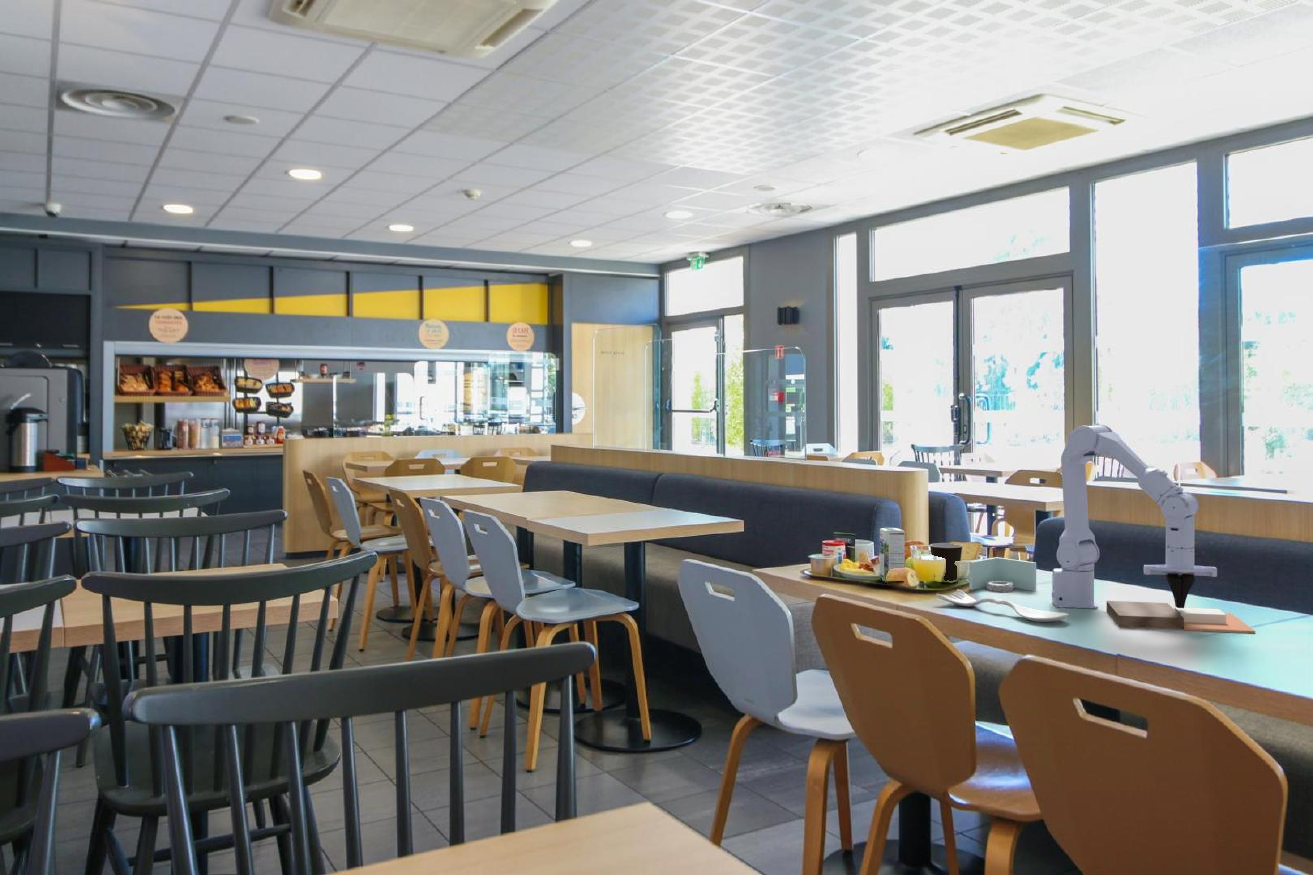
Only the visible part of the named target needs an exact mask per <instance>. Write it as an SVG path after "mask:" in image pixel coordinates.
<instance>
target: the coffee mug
mask: <svg viewBox="0 0 1313 875" xmlns="http://www.w3.org/2000/svg"><path fill="white" fill-rule="evenodd" d="M954 544H955V543H951V542H949V543H948V542H939V543H936V542H935V543H931V544H930V545H929V548H930V549H929V550H930V555H931V554H932V555H934V556H938V557H942V558H945V559H946V573H945V576H944V580H945V581H947V580H949V581H953V580H956V579H957V566H956V565H955V564H954V563H955V561H961V560H962V552H963V544H960V545H954ZM961 562H962V561H961Z"/></svg>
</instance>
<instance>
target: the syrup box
mask: <svg viewBox="0 0 1313 875" xmlns="http://www.w3.org/2000/svg"><path fill="white" fill-rule="evenodd" d="M905 545H906V531H905V530H903V529H900V528H898V527H883V528H881V527H880V528H879V558H878V560H879V565H878V566H879V570H878V571H879V573H878V574H879V576H881V578H882V580H881V581H883V582H884V583H887V582H886V575H887V573H888V571H889V570H890V569H893V568H905V567H906V566H905V564H906V563H905V560H906V558H905V557H906V555H905V553H906V552H905V551H906V550H905V549H906V546H905ZM905 569H906V568H905Z"/></svg>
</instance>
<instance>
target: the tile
mask: <svg viewBox="0 0 1313 875" xmlns="http://www.w3.org/2000/svg"><path fill="white" fill-rule="evenodd" d="M1174 610H1176V611H1177V612H1178V613H1179V614H1180V615H1181V616H1182V617H1183V618H1184V622H1193V623H1218V624H1226V614H1225V613H1226V612H1223V610H1221V609H1219V608H1204V607H1203V608H1199V607H1197V608H1195V607H1184V608H1177V607H1176V606H1175V607H1174Z"/></svg>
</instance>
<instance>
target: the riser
mask: <svg viewBox="0 0 1313 875" xmlns="http://www.w3.org/2000/svg"><path fill="white" fill-rule="evenodd" d="M1106 613H1107V614H1108V615H1109V616H1110V617H1111V619H1112V620H1113V621H1114V623H1115V624H1116V625H1117V626H1118V627H1119V626H1120V627H1119V628H1121V627H1122V628H1138V629H1139V628H1143V629H1144V628H1145V629H1161V630H1162V629H1165V630H1166V629H1167V630H1184V618H1183V617H1182V616H1181V615H1180V614H1179V613H1178V612H1177V611H1176V610H1175V608H1173V606H1171V605H1170V604H1169V603H1168V602H1148V601H1147V602H1146V601H1144V602H1143V601H1123V600H1122V601H1121V600H1120V601H1119V600H1106Z"/></svg>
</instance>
